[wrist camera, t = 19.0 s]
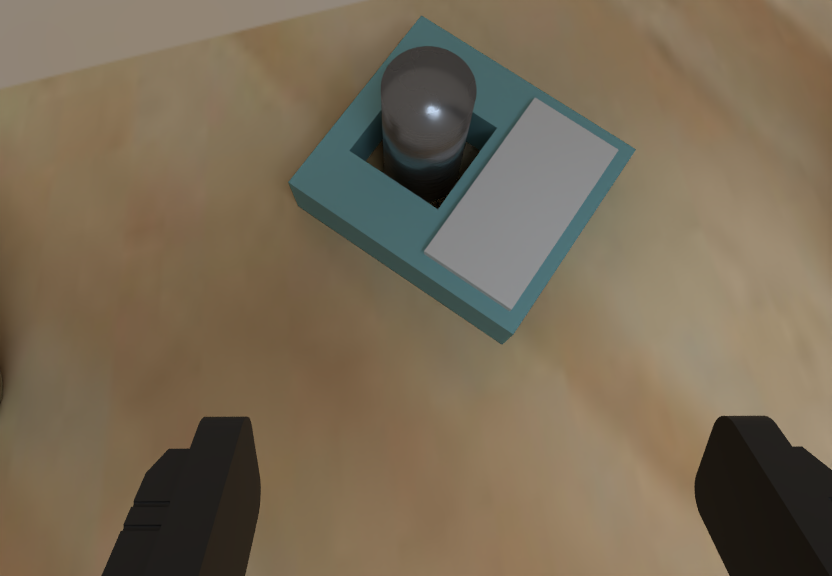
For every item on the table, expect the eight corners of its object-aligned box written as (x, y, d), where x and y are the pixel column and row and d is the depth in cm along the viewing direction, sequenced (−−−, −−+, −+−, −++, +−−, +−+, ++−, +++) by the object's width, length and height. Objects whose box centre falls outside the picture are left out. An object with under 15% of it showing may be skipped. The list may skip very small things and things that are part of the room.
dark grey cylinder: (473, 159, 44) (495, 78, 34) (431, 217, 43) (441, 150, 33) (412, 120, 44) (416, 29, 34) (369, 176, 43) (361, 99, 33)
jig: (614, 175, 44) (639, 145, 39) (502, 344, 41) (515, 332, 36) (419, 52, 45) (421, 9, 41) (298, 205, 42) (286, 178, 38)
